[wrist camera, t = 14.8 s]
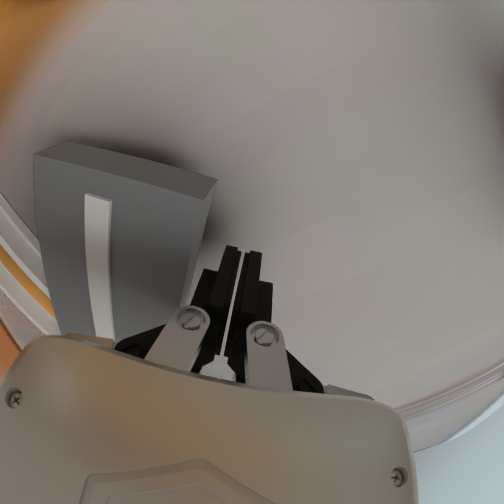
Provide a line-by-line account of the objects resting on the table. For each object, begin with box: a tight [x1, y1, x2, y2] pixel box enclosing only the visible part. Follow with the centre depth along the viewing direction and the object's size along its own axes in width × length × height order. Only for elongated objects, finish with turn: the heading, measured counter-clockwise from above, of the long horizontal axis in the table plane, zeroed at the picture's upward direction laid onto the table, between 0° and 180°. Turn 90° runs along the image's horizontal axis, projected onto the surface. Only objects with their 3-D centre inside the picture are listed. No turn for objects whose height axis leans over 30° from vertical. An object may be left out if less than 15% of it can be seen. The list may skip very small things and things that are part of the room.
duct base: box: [0, 193, 61, 335], centre depth 19 cm, size 22×9×2 cm, turn 42°
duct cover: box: [33, 142, 218, 342], centre depth 15 cm, size 22×8×3 cm, turn 162°
